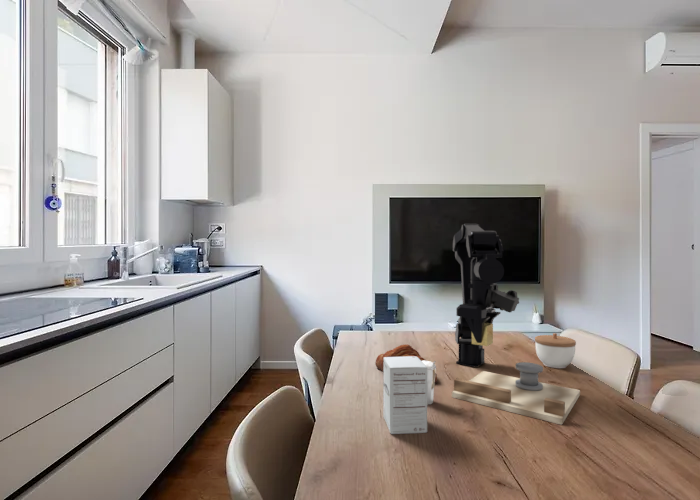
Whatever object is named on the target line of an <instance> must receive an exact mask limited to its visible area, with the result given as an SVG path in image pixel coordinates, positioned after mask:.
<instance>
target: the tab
mask: <svg viewBox="0 0 700 500" xmlns="http://www.w3.org/2000/svg"><path fill="white" fill-rule="evenodd" d="M472 344H476V345H482V346H483V347H490V346H491V345H492V344H494V324H493V323H492V324H491V323H484V330H483V337H482V342H481V343H477V342H476V340H475V337H474V335H473V333H472Z"/></svg>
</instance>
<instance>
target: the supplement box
mask: <svg viewBox="0 0 700 500" xmlns="http://www.w3.org/2000/svg"><path fill="white" fill-rule="evenodd" d="M383 359H384V373H383V383H382V384H383V391H382V392H383V395H382V397H383V403H382V404H383V405H382V406H383V408H382V409H383V413H382V415H383V419H384V421H385V423H386V426H387V428H388V431H389V434H391V435H402V434H407V435H408V434H422V433H423V434H425V433H428V404H427V366H426V365H425V364H424V363H423V362H422V361H421V360H420V359H419V358H418V357H417V356H404V357H384V358H383Z"/></svg>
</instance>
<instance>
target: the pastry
mask: <svg viewBox="0 0 700 500" xmlns="http://www.w3.org/2000/svg"><path fill="white" fill-rule="evenodd" d="M404 356H417V357H418V358H419V359H420V360H421V361H423V360H426V361H428V360H427V359H425V358H424V357H422V356H421V355H420V353H419V352H418V351H417V349H415V348H414V347H412V346H411V345H410V344H401V345H398V346H396V347H395V348H393V349H389V350H387V351H385V353H380V354H378V356H377V357H376V359H375V362H374V363H375V364H374V365H375V367H376V368H377V369H378V370H380V371H382V373H383V374H384V359H383V358H384V357H404ZM437 383H438V375H437V373H435V382H434V384H437Z"/></svg>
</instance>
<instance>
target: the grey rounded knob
mask: <svg viewBox="0 0 700 500" xmlns="http://www.w3.org/2000/svg"><path fill="white" fill-rule="evenodd" d="M515 369H516V370H517V371H519V378H520V379H519V380H516V387H518V388H520V389H523V390H528V391H540V390H542V389H543V384H542V383H543V382H541V383H540V381H539V374H541V373H543V371H544V368H543V366H542V365H540V364H538V363H534V362H528V361H527V362H523V361H522V362H517V363H515Z"/></svg>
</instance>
